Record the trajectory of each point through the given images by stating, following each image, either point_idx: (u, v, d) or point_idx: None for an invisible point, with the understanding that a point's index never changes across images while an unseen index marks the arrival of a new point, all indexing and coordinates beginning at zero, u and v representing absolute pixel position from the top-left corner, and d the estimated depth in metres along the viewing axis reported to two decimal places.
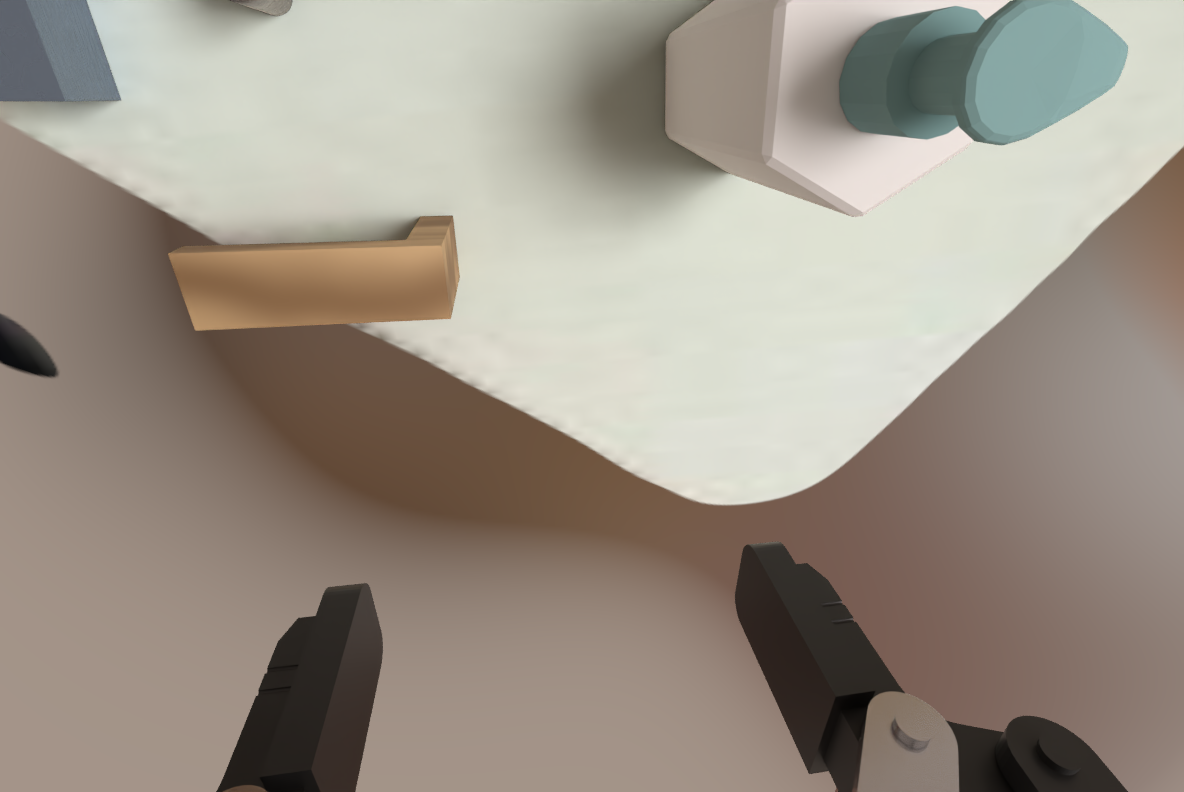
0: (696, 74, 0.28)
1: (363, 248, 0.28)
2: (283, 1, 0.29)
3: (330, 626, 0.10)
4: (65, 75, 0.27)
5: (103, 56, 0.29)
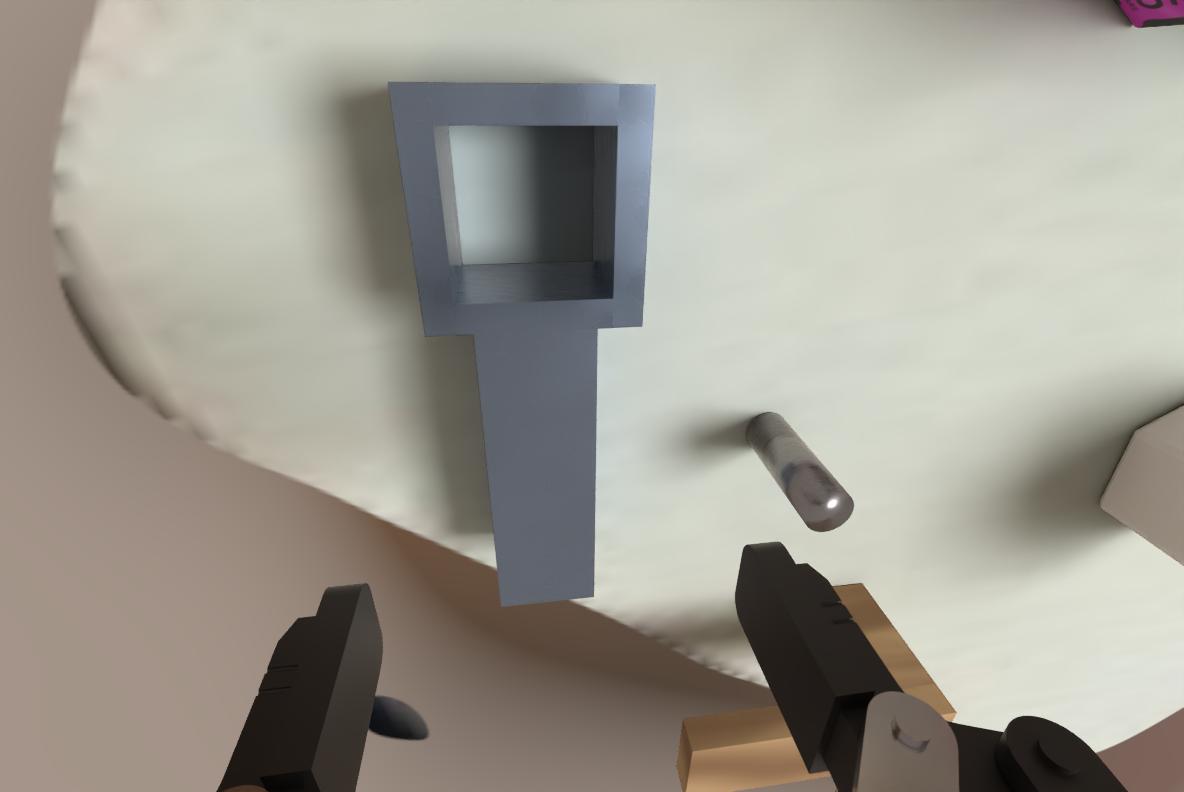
0: None
1: None
2: None
3: (330, 626, 0.10)
4: None
5: None
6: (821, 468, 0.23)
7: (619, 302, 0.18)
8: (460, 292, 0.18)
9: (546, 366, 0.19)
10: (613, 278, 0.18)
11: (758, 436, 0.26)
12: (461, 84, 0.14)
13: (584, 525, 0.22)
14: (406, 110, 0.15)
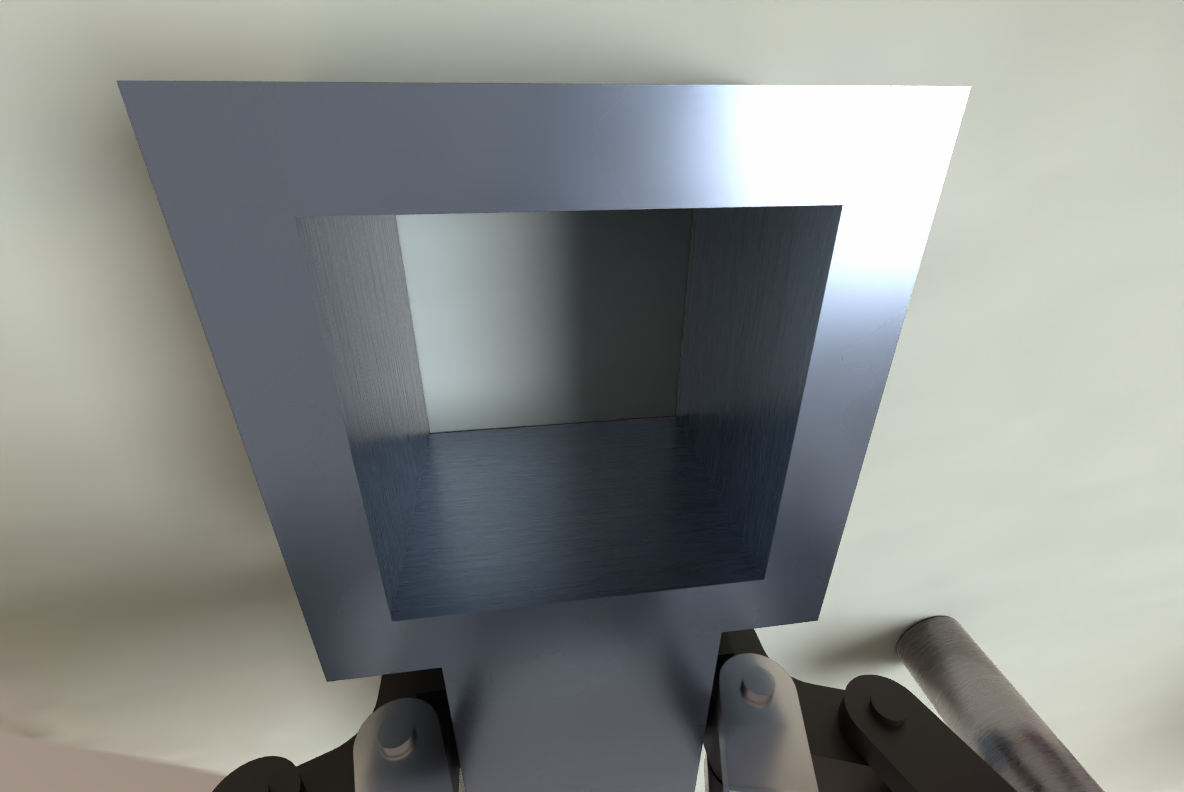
0: None
1: None
2: None
3: None
4: None
5: None
6: (1084, 779, 0.13)
7: (776, 585, 0.08)
8: (414, 553, 0.08)
9: (604, 702, 0.09)
10: (768, 540, 0.08)
11: (929, 666, 0.16)
12: (376, 88, 0.04)
13: None
14: (198, 172, 0.04)
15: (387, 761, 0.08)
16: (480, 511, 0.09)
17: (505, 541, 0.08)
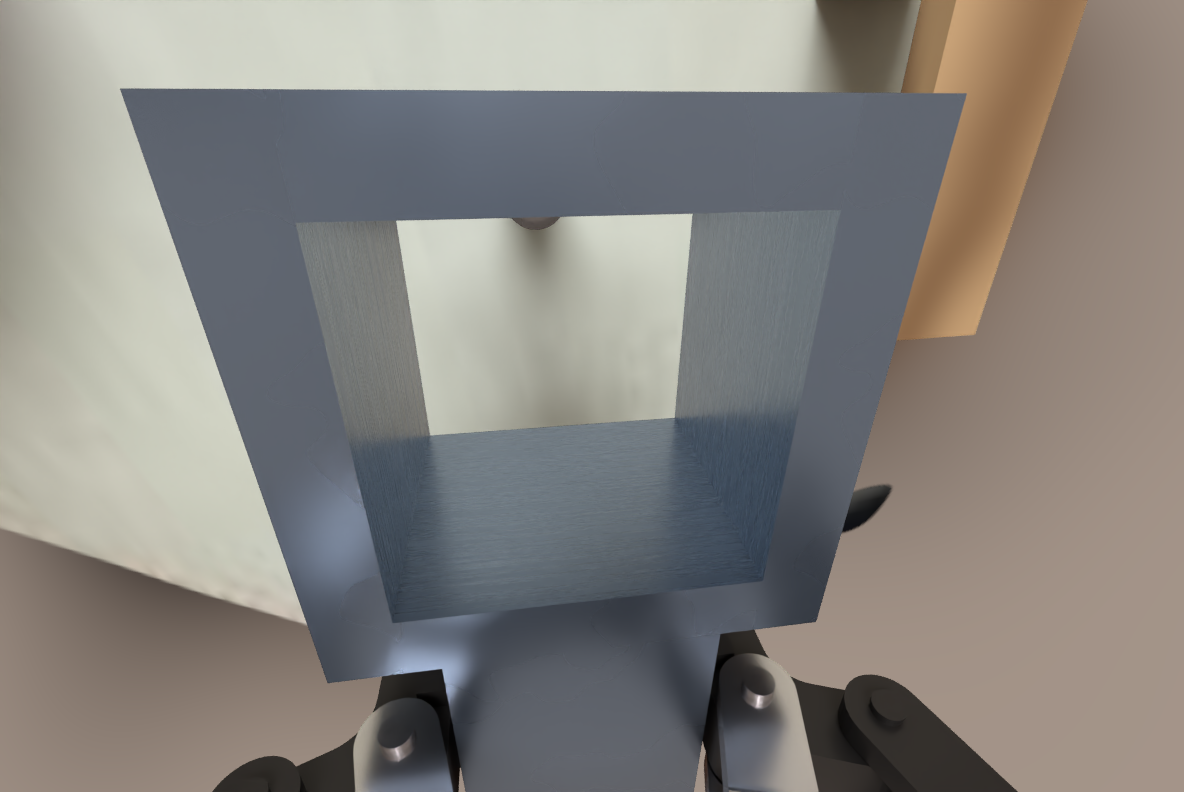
0: None
1: (947, 37, 0.15)
2: None
3: None
4: None
5: None
6: None
7: (775, 586, 0.08)
8: (414, 555, 0.08)
9: (603, 703, 0.09)
10: (767, 542, 0.08)
11: None
12: (378, 95, 0.04)
13: None
14: (200, 179, 0.05)
15: (387, 761, 0.08)
16: (480, 513, 0.09)
17: (505, 543, 0.08)
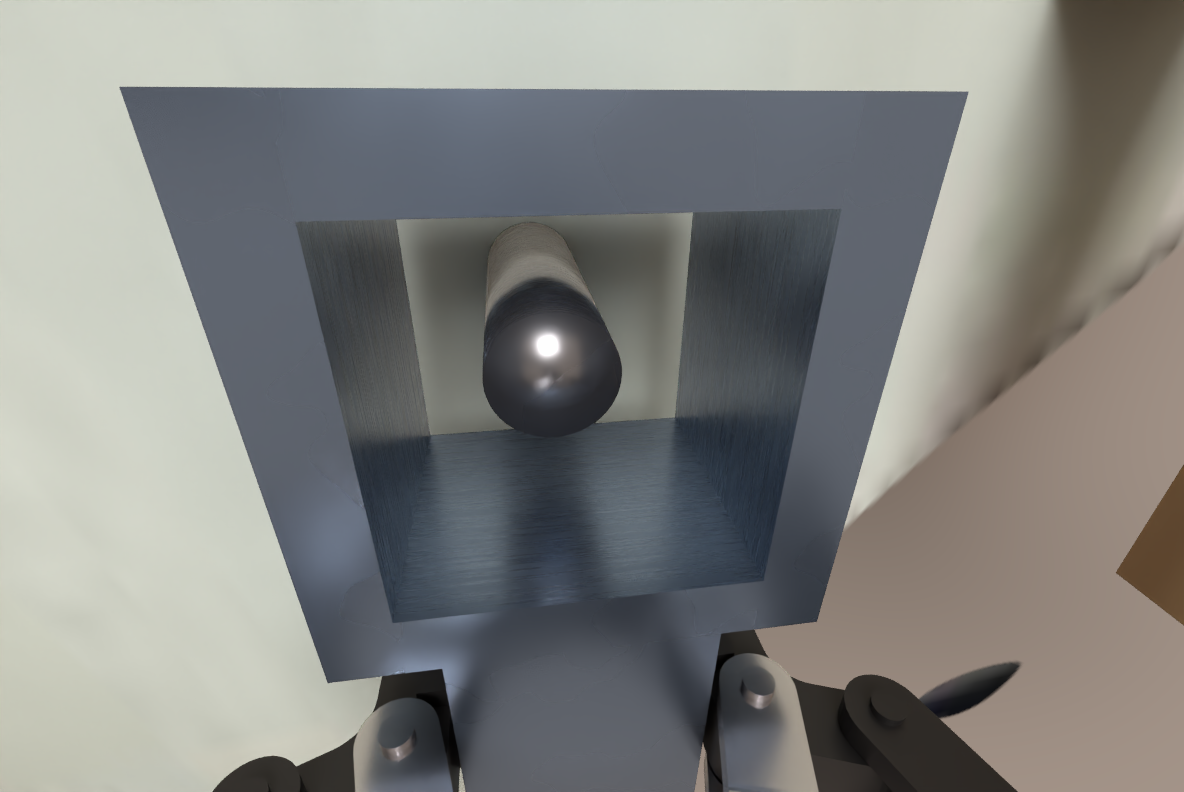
0: None
1: None
2: (555, 240, 0.12)
3: None
4: None
5: None
6: (485, 324, 0.09)
7: (775, 586, 0.08)
8: (414, 555, 0.08)
9: (604, 703, 0.09)
10: (768, 541, 0.08)
11: None
12: (377, 94, 0.04)
13: None
14: (201, 178, 0.04)
15: (387, 761, 0.08)
16: (480, 513, 0.09)
17: (505, 543, 0.08)
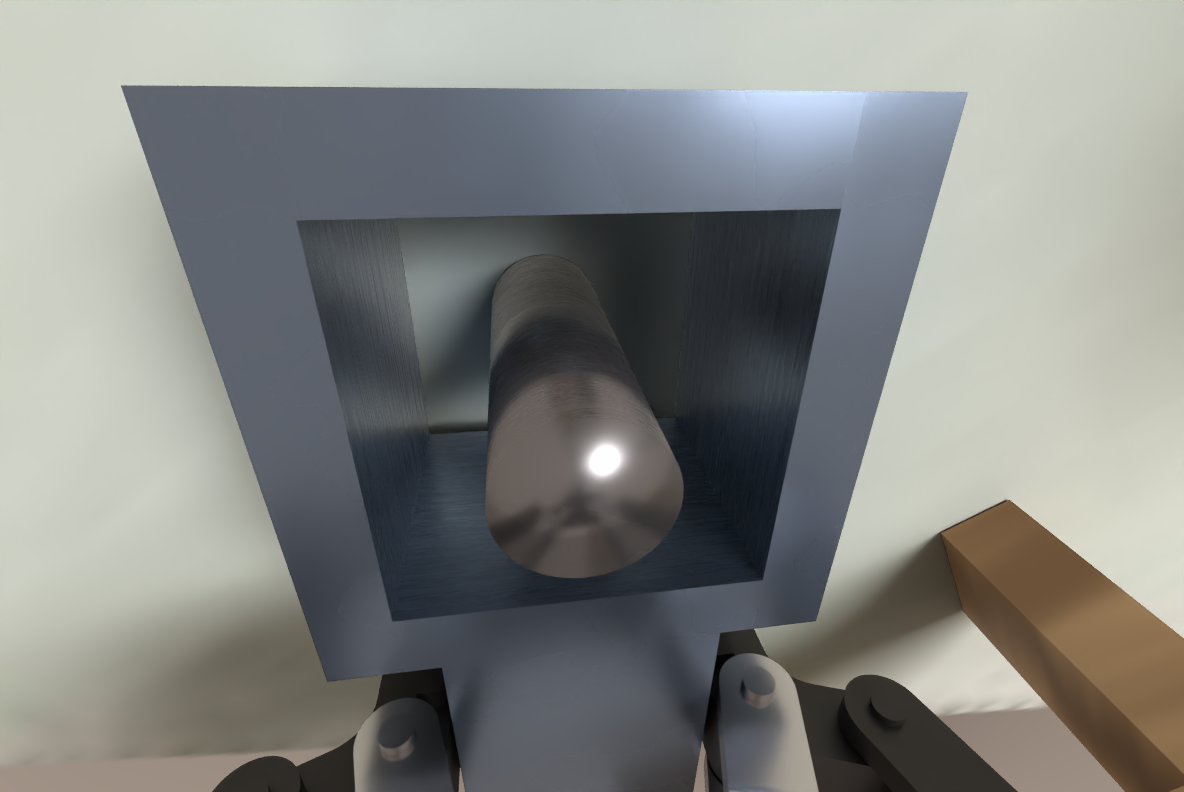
0: None
1: None
2: None
3: None
4: None
5: None
6: (549, 354, 0.06)
7: (775, 586, 0.08)
8: (414, 553, 0.08)
9: (603, 702, 0.09)
10: (767, 541, 0.08)
11: None
12: (378, 93, 0.04)
13: None
14: (201, 177, 0.05)
15: (387, 761, 0.08)
16: (480, 512, 0.09)
17: None
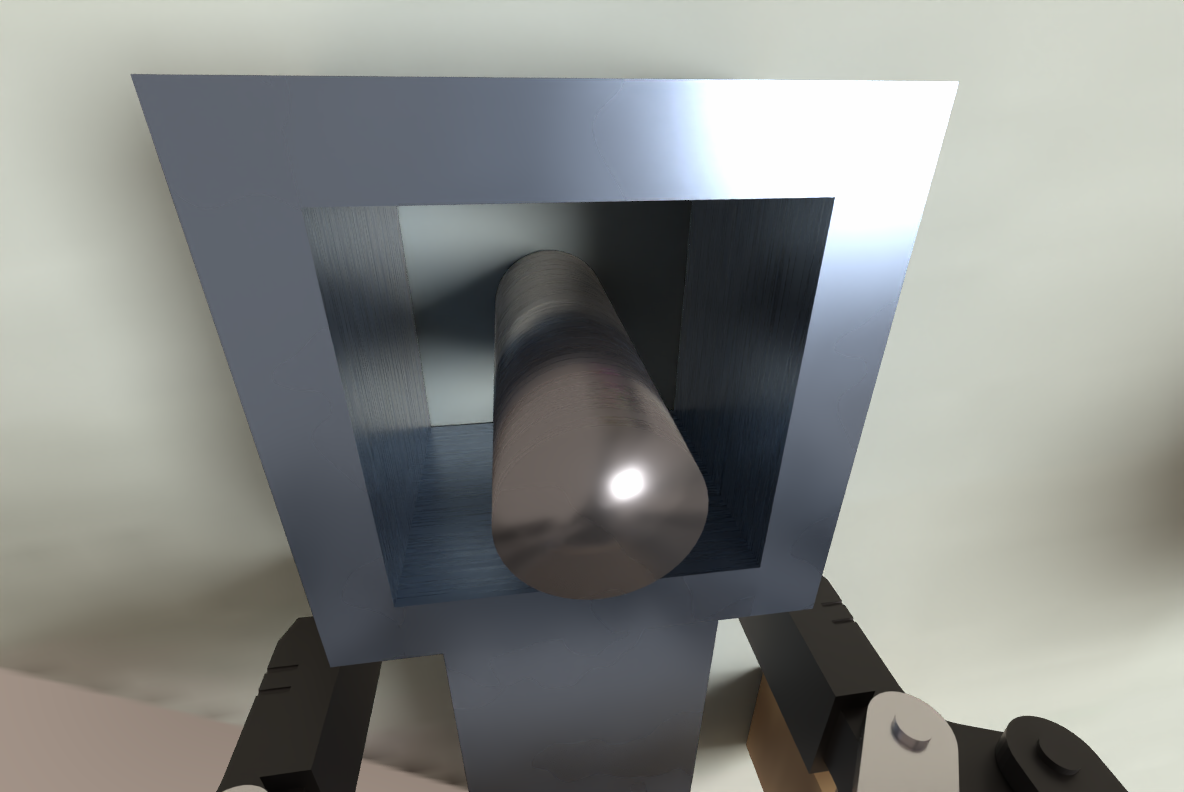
0: None
1: None
2: None
3: None
4: None
5: None
6: (606, 355, 0.06)
7: (772, 573, 0.08)
8: (416, 542, 0.08)
9: (602, 689, 0.09)
10: (764, 528, 0.08)
11: (499, 304, 0.09)
12: (381, 82, 0.05)
13: None
14: (208, 165, 0.05)
15: None
16: (481, 502, 0.09)
17: None
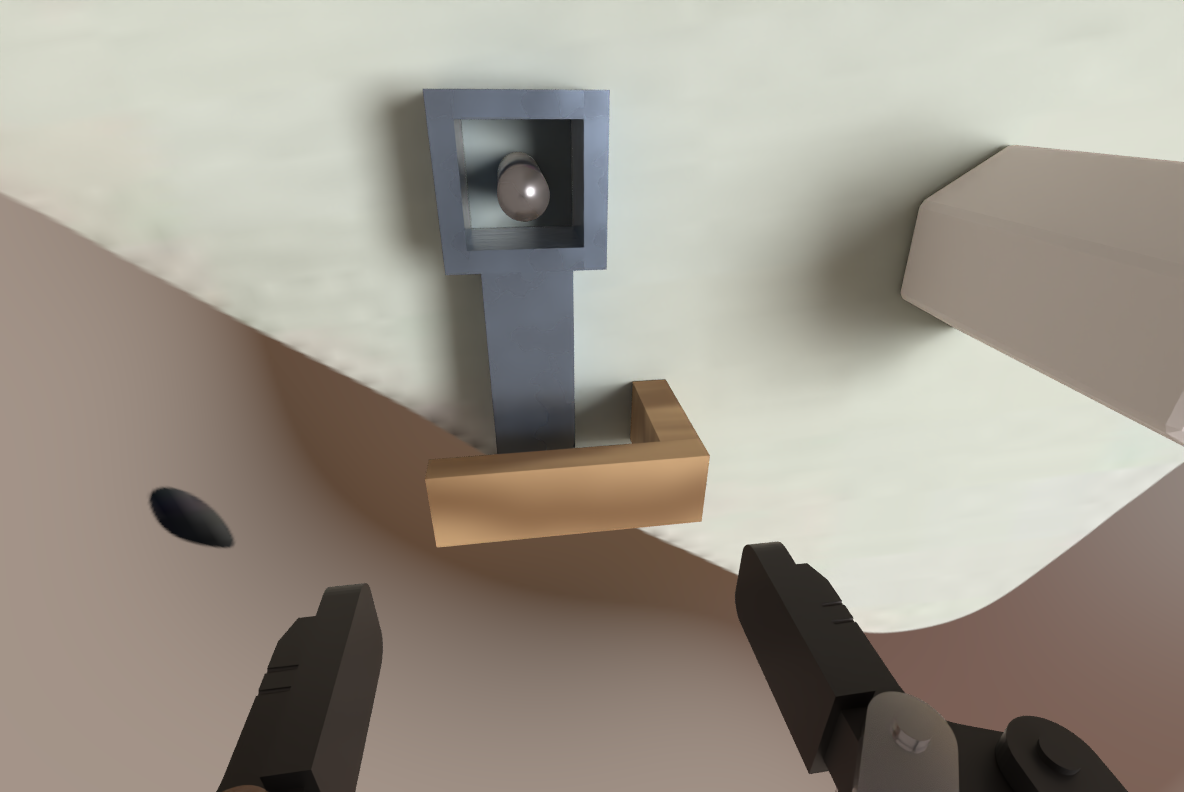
0: (996, 271, 0.26)
1: (628, 462, 0.26)
2: None
3: (330, 626, 0.10)
4: None
5: None
6: (528, 163, 0.22)
7: (588, 250, 0.24)
8: (471, 244, 0.25)
9: (535, 300, 0.25)
10: (584, 232, 0.24)
11: (498, 167, 0.25)
12: (473, 90, 0.21)
13: (566, 432, 0.29)
14: (435, 108, 0.21)
15: None
16: (492, 239, 0.26)
17: (501, 243, 0.25)
